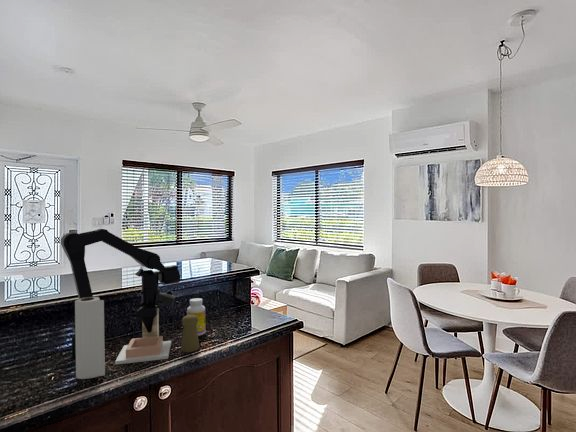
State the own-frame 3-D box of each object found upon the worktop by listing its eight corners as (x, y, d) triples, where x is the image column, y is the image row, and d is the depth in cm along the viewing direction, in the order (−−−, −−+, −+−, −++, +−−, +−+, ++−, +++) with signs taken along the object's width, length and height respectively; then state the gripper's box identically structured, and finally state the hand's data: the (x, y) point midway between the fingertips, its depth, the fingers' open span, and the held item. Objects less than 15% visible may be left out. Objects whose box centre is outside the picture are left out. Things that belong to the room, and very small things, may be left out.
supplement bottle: (206, 335, 126) (206, 300, 126) (188, 338, 124) (187, 302, 124) (204, 329, 132) (203, 296, 132) (186, 332, 130) (186, 298, 130)
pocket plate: (115, 364, 102) (115, 352, 102) (124, 348, 115) (124, 337, 115) (168, 358, 106) (168, 347, 106) (171, 343, 119) (171, 333, 119)
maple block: (142, 341, 121) (142, 313, 121) (144, 336, 126) (144, 309, 126) (157, 339, 122) (157, 312, 122) (158, 335, 127) (158, 308, 127)
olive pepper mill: (194, 352, 110) (194, 318, 110) (177, 351, 112) (176, 317, 112) (202, 345, 116) (202, 313, 116) (186, 344, 118) (186, 312, 117)
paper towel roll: (73, 374, 96) (72, 298, 96) (97, 367, 100) (96, 295, 100) (80, 383, 91) (79, 303, 91) (105, 375, 95) (103, 299, 95)
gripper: (171, 290, 117) (172, 336, 117) (175, 280, 135) (175, 320, 135) (136, 293, 114) (137, 339, 114) (144, 282, 132) (145, 322, 132)
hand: (150, 329), depth 124 cm, fingers closed on maple block, 5 cm apart
